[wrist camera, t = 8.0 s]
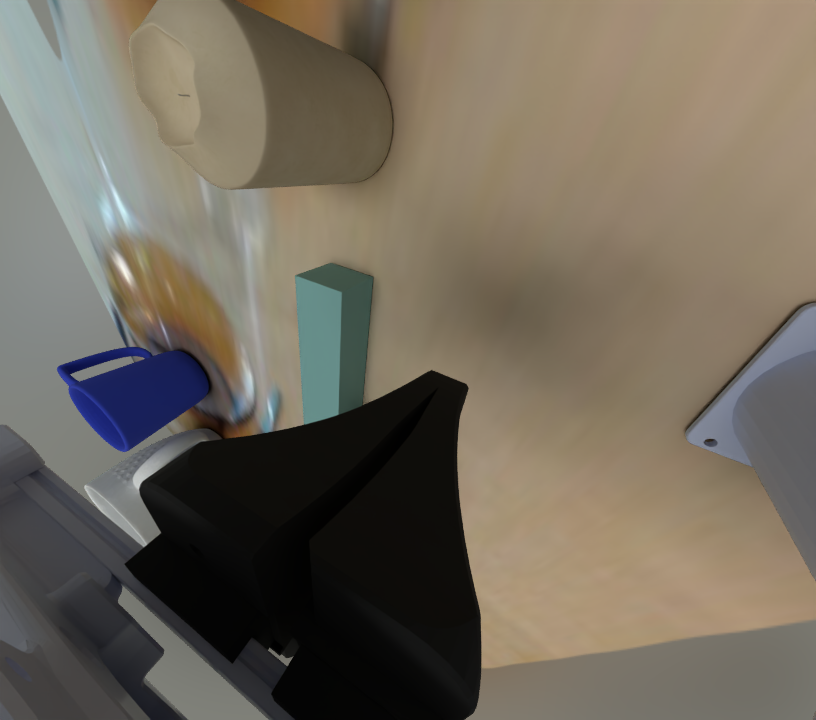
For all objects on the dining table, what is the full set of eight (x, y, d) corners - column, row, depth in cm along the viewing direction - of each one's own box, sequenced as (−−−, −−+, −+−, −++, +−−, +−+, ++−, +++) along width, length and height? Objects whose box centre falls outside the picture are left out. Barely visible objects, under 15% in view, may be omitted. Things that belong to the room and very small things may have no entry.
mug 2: (193, 385, 41) (65, 454, 31) (255, 440, 41) (145, 529, 31) (190, 439, 51) (92, 505, 41) (241, 484, 50) (153, 563, 40)
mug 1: (143, 311, 38) (30, 346, 30) (217, 368, 37) (118, 421, 29) (152, 358, 43) (57, 399, 36) (217, 410, 42) (132, 465, 34)
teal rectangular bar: (373, 277, 21) (341, 292, 19) (356, 475, 34) (336, 502, 31) (330, 262, 22) (295, 275, 20) (329, 460, 35) (307, 485, 32)
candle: (413, 105, 16) (243, 42, 8) (365, 203, 19) (214, 225, 12) (332, 30, 16) (86, -102, 8) (299, 142, 19) (105, 123, 12)
